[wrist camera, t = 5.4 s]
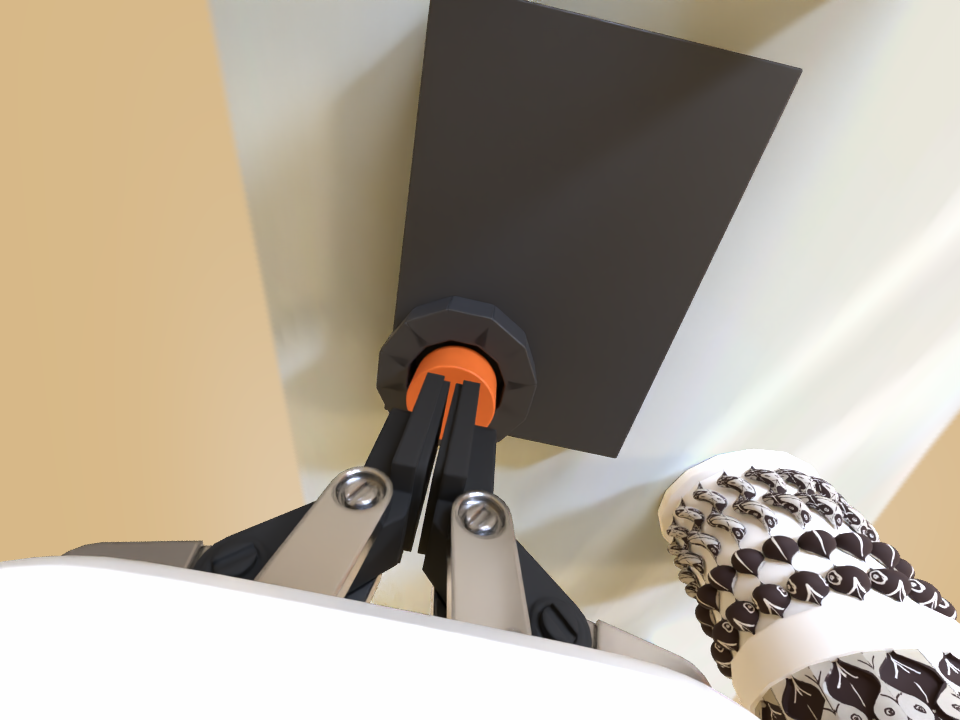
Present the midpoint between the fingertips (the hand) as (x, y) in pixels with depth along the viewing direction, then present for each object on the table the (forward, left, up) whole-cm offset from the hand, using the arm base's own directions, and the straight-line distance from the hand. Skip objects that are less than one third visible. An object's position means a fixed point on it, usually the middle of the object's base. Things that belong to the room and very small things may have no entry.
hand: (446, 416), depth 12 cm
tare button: (+1, 0, -3) cm, 3 cm away
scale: (-4, +3, -6) cm, 8 cm away
